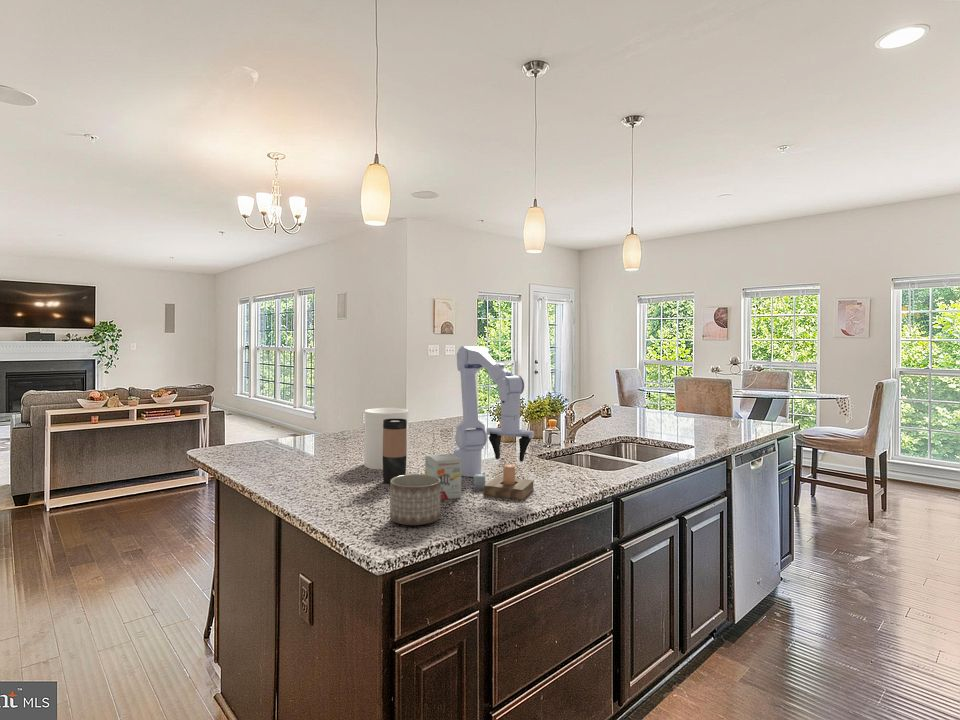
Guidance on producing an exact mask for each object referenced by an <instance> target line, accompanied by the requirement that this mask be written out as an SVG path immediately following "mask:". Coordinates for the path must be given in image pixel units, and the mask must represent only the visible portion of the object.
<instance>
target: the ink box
mask: <svg viewBox="0 0 960 720" xmlns="http://www.w3.org/2000/svg"><path fill="white" fill-rule="evenodd" d="M424 458H425V459H424V460H425V463H424V466H425V467H424V474H425V475H432V476H436V477H438V478H440V480H441V495H440V501H444V500H452V499H459V498H462V476H461V474H462V459H461V458H459V457H457V456H455V455H453V453H437V454H435V453H434V454H425V457H424Z"/></svg>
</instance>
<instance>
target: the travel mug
mask: <svg viewBox="0 0 960 720" xmlns="http://www.w3.org/2000/svg"><path fill="white" fill-rule="evenodd" d="M406 455H407V421H406V420H405V419H385V420H383V470H382V481H383V484H385V485H386V484H387V485H390V481H391V479H392V478H394V477H397V476H401V475H407V474H406V473H407V466H406Z"/></svg>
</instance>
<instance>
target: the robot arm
mask: <svg viewBox="0 0 960 720" xmlns="http://www.w3.org/2000/svg"><path fill="white" fill-rule="evenodd" d="M490 351H491V350H490V349H489V348H488V347H487V346H466V345H462V346H460V347H459V349H458V351H457V352H456V367H457V371H459V372H460V388H461V389H460V390H461V403H462V404H461V405H462V416H463V417H462V418H463V419H462V421H461V422H460V423H459V424H458V425H456V428H455V432H456V433H455V437H454V438H455V443H456V446H457V447H456V448H454V451H453V453H452V454H453V455H455V456H457V457H459V458H461V459H462V474H461V477H467V478H474V475H476V474H483V475H485V473H486V471H485V470H482V450H483V449H484V447H485V446H486V445H487V442H488V440H489V442H490V444H491V447H492V450H493V452H494V457H495V460H499V459H500V458H501V441H502V437H506V436H507V437H516V438H519V439H518V443H519V459H518V460H519V463H520V462H521V463H522V462H524V459H525V455H526V452H527V450H528V446H529V444H530V442H531V440H532V439H534V438H535V431H534V430H527V429H520V426H521V425H520V424H521V422H520V421H521V420H520V419H521V418H520V417H521V395H522V394H523V393H524V390H525V381H524V378H523V376H521V375H517V374H513V373H512V372H511V371H510V370H509V369H508V368H507V367H506V366H505V364H504V363H501V362H500V363H499V362H496V361H495V359H494V358H493V357H492V356H491V352H490ZM483 368H484V369H485V370H486V371H487V372H488V377H489V378H490V379H491V380H492V382H494V383H495V384H496V385H497V390H498V393H499V394H498V395H499V400H500V427H486V425H485V424H484V423H483V422H481V421H480V420H479V413H478V411H479V410H478V397H477V384H476V383H477V382H476V374H478V373H477V372H479V371H481V370H482V369H483Z"/></svg>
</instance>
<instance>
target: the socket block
mask: <svg viewBox="0 0 960 720" xmlns="http://www.w3.org/2000/svg"><path fill="white" fill-rule="evenodd" d="M532 490H533V491H534V479H525V478H517V477H515V485H506V484H503V476H498V475H497V476H495V477H493V478H492V479H490V480H489V481H488V482H485V485H484V489H483V496H484V497H485V496H487V497H494V498H500V497H501V498H503V499H508V498H511V499H510V500H517V499H519V500H518V501H523V500H524V499H525V498H526V497H527V496H529V495H530V492H531V491H532ZM533 491H532V492H533ZM532 492H531V493H532Z"/></svg>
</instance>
